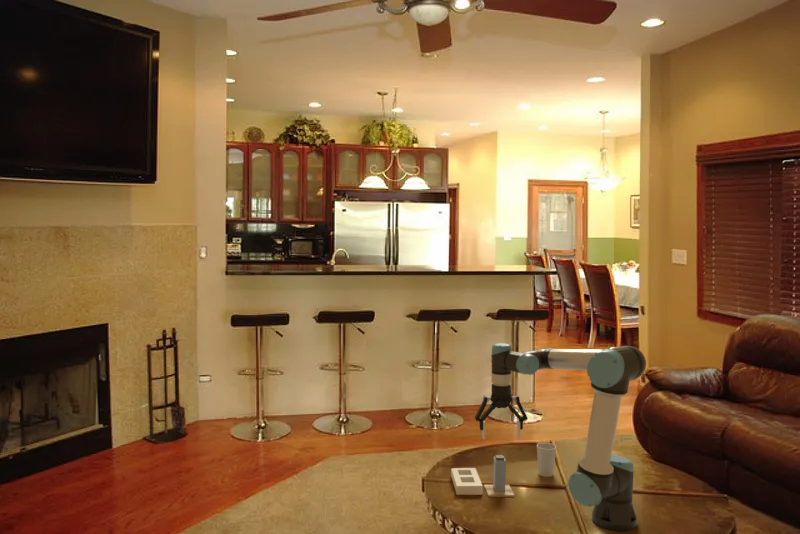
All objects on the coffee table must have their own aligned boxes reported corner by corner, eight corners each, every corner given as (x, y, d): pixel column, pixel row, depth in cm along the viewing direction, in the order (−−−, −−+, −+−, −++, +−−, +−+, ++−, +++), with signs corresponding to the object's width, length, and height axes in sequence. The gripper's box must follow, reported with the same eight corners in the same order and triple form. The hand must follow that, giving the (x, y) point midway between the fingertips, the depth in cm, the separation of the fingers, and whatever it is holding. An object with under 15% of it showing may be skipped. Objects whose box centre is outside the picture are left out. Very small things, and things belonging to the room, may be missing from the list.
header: (482, 494, 252) (482, 485, 252) (456, 494, 251) (456, 486, 251) (475, 476, 270) (475, 468, 269) (451, 476, 269) (451, 468, 269)
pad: (514, 496, 250) (514, 495, 250) (488, 496, 250) (488, 495, 250) (508, 485, 260) (509, 484, 260) (484, 486, 260) (484, 484, 260)
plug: (505, 491, 253) (505, 458, 252) (494, 491, 253) (495, 458, 252) (503, 487, 257) (503, 454, 256) (493, 487, 257) (493, 454, 256)
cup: (557, 477, 269) (558, 449, 268) (537, 477, 269) (538, 449, 268) (553, 470, 277) (554, 442, 276) (534, 470, 277) (535, 442, 276)
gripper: (530, 381, 256) (530, 434, 257) (467, 382, 255) (467, 435, 256) (535, 385, 249) (535, 440, 250) (470, 386, 248) (470, 441, 249)
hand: (501, 438), depth 253 cm, fingers open, 13 cm apart
